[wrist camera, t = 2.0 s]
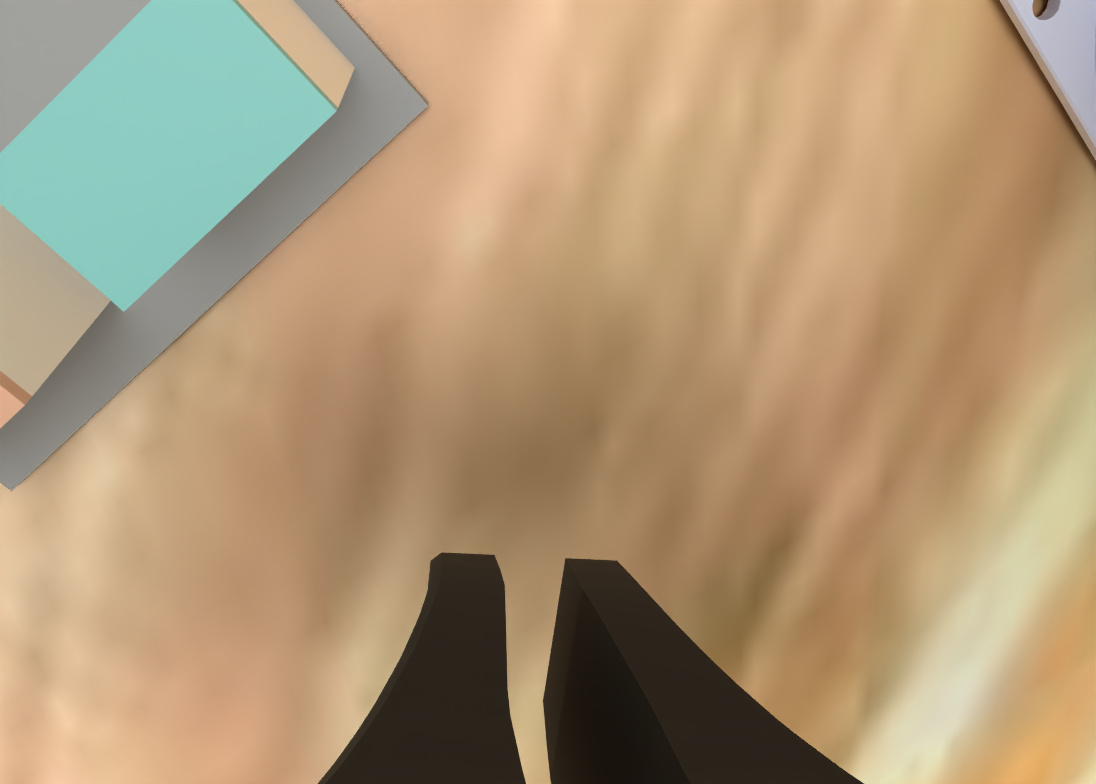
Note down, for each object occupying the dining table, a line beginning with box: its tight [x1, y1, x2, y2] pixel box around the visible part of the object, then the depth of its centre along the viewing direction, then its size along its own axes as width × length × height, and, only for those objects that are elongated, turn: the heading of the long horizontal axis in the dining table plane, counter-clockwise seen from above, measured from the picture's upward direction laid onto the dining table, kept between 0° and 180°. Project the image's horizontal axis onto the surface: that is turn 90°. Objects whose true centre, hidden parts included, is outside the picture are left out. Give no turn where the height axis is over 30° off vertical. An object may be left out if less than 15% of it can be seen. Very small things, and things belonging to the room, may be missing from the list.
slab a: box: [0, 0, 355, 312], centre depth 16 cm, size 2×4×5 cm, turn 131°
